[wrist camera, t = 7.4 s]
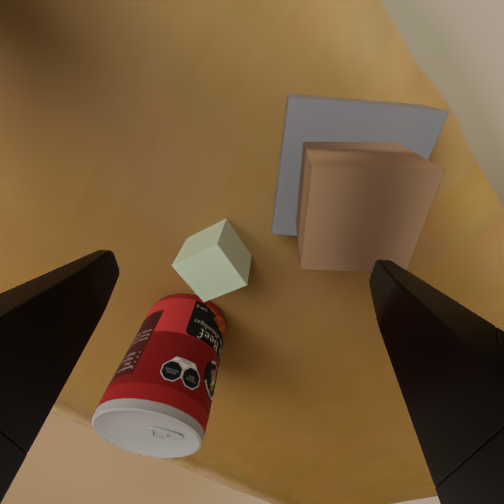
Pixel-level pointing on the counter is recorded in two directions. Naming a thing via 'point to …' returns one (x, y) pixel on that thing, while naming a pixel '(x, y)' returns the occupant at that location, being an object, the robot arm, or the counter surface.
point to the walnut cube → (362, 204)
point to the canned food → (165, 381)
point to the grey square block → (344, 138)
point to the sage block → (214, 261)
